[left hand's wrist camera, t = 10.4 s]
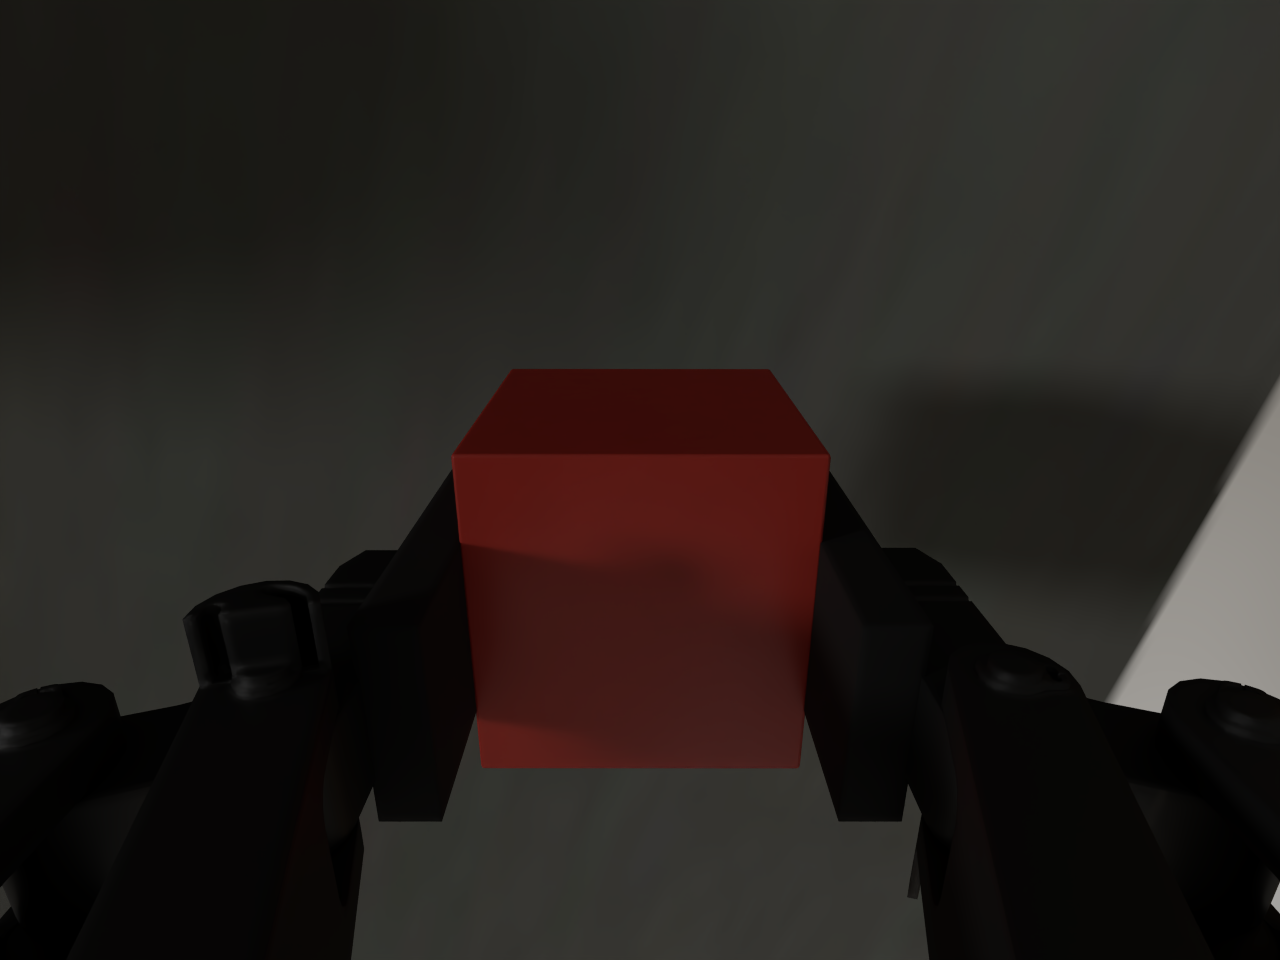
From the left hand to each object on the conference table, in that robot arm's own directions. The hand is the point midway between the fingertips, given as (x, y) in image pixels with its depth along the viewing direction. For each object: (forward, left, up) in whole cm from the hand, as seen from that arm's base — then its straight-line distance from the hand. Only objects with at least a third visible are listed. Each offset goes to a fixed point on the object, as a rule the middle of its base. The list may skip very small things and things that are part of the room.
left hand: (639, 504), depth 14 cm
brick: (0, 0, 0) cm, 0 cm away
